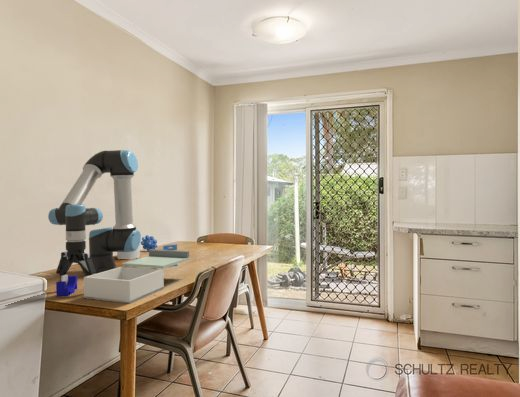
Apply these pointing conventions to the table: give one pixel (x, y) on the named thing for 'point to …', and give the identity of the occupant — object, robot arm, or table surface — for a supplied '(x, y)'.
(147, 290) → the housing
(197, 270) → the table surface
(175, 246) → the label tape cartridge
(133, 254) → the utensil holder
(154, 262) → the lid
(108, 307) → the table surface
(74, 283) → the cable clip
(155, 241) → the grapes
